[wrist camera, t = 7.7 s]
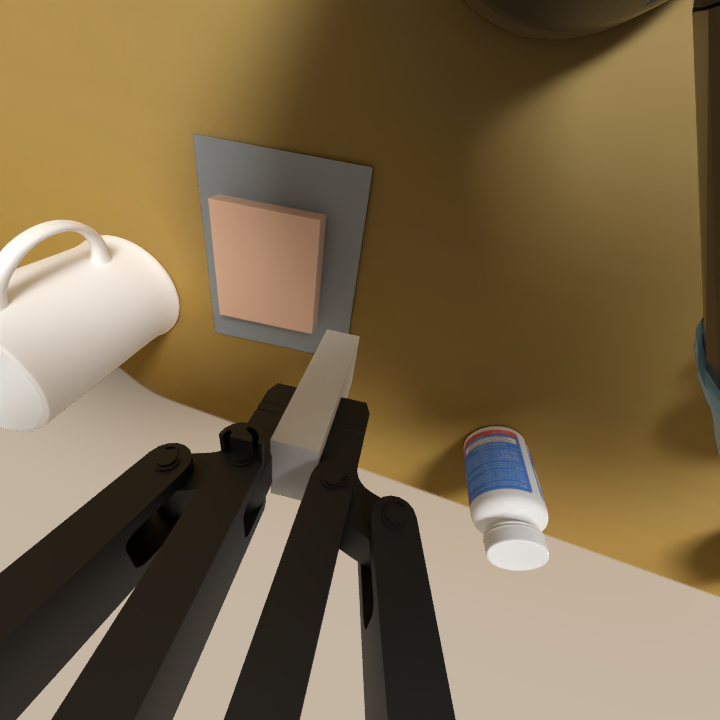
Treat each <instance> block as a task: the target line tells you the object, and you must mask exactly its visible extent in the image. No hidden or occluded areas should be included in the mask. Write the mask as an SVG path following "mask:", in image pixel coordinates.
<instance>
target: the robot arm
mask: <svg viewBox="0 0 720 720" xmlns="http://www.w3.org/2000/svg"><path fill="white" fill-rule="evenodd" d="M463 1H464V2H465V3H466V4H467V5H468V6H469V7H470V8H471V9H473V10H474V11H475V12H476V13H477V14H478V15H480V16H481V17H482V18H484V19H485V20H487V21H488V22H490V23H492V24H493V25H495V26H497V27H499V28H501V29H503V30H505V31H508V32H510V33H513V34H516V35H520V36H524V37H529V38H535V39H544V40H559V39H571V38H577V37H583V36H587V35H591V34H595V33H598V32H601V31H604V30H607V29H610V28H613V27H615V26H617V25H620V24H622V23H624V22H627V21H629V20H631V19H633V18H635V17H637V16H639V15H641V14H643V13H645V12H647V11H649V10H651V9H653V8H655V7H657V6H659V5H661V4H663V3H664V2H666V1H668V0H463ZM693 6H694V7H693V11H692V15H693V43H694V70H695V97H696V125H697V152H698V180H699V207H700V235H701V262H702V289H703V319H702V321H701V322H700V323H699V324H698V326H697V327H696V335H695V344H694V350H695V357H696V364H697V370H698V378H699V381H700V384H701V387H702V390H703V393H704V396H705V398H706V400H707V402H708V404H709V406H710V408H711V411H712V418H713V424H714V433H715V441H716V444H717V448H718V452H719V455H720V0H694V3H693ZM359 338H360V336H355V335H351V334H346V333H342V332H337V331H333V330H328V329H327V330H326V332H325V334H324V336H323V338H322V340H321V342H320V344H319V346H318V348H317V350H316V352H315V354H314V356H313V358H312V360H311V361H310V363H309V365H308V367H307V369H306V371H305V373H304V375H303V377H302V379H301V381H300V383H299V385H298V387H297V388H296V387H292V386H288V385H283V384H279V383H278V384H276V385H275V386H274V387H272V388H271V389H269V390H268V391H267V393H266V394H265V396H264V398H263V399H262V402H260V404H259V406H258V407H257V410H256V411H255V412H254V414H253V415H252V417H251V419H250V420H249V422H248V423H243V422H241V423H236V424H232V425H230V426H228V427H226V428H224V429H223V430H222V431H221V433H219V438H220V444H221V451H218V452H212V453H194V454H191V452H190V450H189V449H188V448H187V447H186V446H185V445H182V444H179V443H168V444H165V445H161V446H158V447H157V448H155V449H153V450H152V451H150V452H149V453H148V454H146V455H145V456H144V457H143V458H142V459H140V460H139V461H138V462H137V463H135V464H134V465H133V466H132V467H130V468H129V469H128V470H127V471H125V472H124V473H123V474H122V475H121V476H119V477H118V478H117V479H116V480H114V481H113V482H112V483H111V484H109V485H108V486H107V487H106V488H105V489H103V490H102V491H101V492H100V493H98V494H97V495H96V496H95V497H93V498H92V499H91V500H90V501H88V502H87V503H86V504H85V505H84V506H82V507H81V508H80V509H79V510H78V511H76V512H75V513H74V514H73V515H71V516H70V517H69V518H68V519H66V520H65V521H64V522H63V523H61V524H60V525H59V526H58V527H57V528H55V529H54V530H53V531H51V532H50V533H49V534H48V535H47V536H46V537H44V538H43V539H42V540H40V541H39V542H38V543H37V544H36V545H34V546H33V547H32V548H31V549H29V550H28V551H27V552H26V553H24V554H23V555H22V556H21V557H19V558H18V559H17V560H16V561H14V562H13V563H12V564H11V565H10V566H8V567H7V568H6V569H5V570H3V571H2V572H1V573H0V720H16V719H17V718H18V717H19V716H20V714H22V712H23V711H24V710H25V709H26V708H27V707H28V706H29V705H30V704H31V702H32V701H33V700H34V699H35V698H36V697H37V696H38V695H39V694H40V692H41V691H42V690H43V689H44V688H45V687H46V686H47V685H48V683H49V682H50V681H51V680H52V679H53V678H54V677H55V676H56V675H57V673H58V672H59V671H60V670H61V669H62V668H63V667H64V666H65V665H66V663H67V662H68V661H69V660H70V659H71V658H72V657H73V656H74V655H75V653H76V652H77V651H78V650H79V649H80V648H81V647H82V646H83V645H84V643H85V642H86V641H87V640H88V639H89V638H90V637H91V636H92V634H93V633H94V632H95V631H96V630H97V629H98V628H99V627H100V625H102V623H103V622H104V621H105V620H106V619H107V618H108V617H109V616H110V614H111V613H112V612H113V611H114V610H115V609H116V608H117V607H118V606H119V604H120V603H121V602H122V601H123V600H124V599H125V598H126V597H127V596H128V594H129V593H130V592H131V591H132V590H133V589H134V587H135V589H134V591H133V592H132V594H131V595H130V597H129V598H128V600H127V602H126V603H125V605H124V606H123V608H122V609H121V611H120V612H119V614H118V616H117V617H116V619H115V620H114V622H113V623H112V625H111V627H110V628H109V630H108V631H107V633H106V635H105V636H104V638H103V639H102V641H101V643H100V644H99V646H98V647H97V649H96V650H95V652H94V653H93V655H92V657H91V658H90V660H89V661H88V663H87V664H86V666H85V668H84V669H83V671H82V672H81V674H80V675H79V677H78V679H77V680H76V682H75V683H74V685H73V686H72V688H71V690H70V692H69V693H68V694H67V696H66V698H65V699H64V701H63V702H62V704H61V705H60V707H59V709H58V710H57V712H56V713H55V715H54V716H53V718H52V720H173V717H174V715H175V713H176V711H177V708H178V706H179V704H180V701H181V699H182V697H183V694H184V692H185V690H186V687H187V685H188V683H189V681H190V678H191V676H192V674H193V672H194V669H195V667H196V665H197V662H198V660H199V658H200V655H201V653H202V651H203V649H204V646H205V644H206V641H207V639H208V637H209V635H210V632H211V630H212V628H213V626H214V623H215V621H216V619H217V616H218V614H219V612H220V609H221V607H222V605H223V603H224V600H225V598H226V595H227V593H228V591H229V589H230V586H231V584H232V582H233V579H234V577H235V575H236V573H237V570H238V568H239V565H240V563H241V561H242V559H243V557H244V554H245V552H246V550H247V547H248V545H249V543H250V541H251V538H252V536H253V534H254V531H255V529H256V527H257V524H258V522H259V520H260V518H261V515H262V512H263V511H264V508H265V503H266V495H267V493H268V490H269V488H270V486H271V493H274V494H278V495H282V496H286V497H290V498H294V499H298V500H301V504H300V507H299V509H298V513H297V515H296V518H295V521H294V524H293V526H292V529H291V532H290V535H289V537H288V540H287V543H286V546H285V549H284V552H283V554H282V557H281V560H280V563H279V566H278V569H277V571H276V574H275V577H274V580H273V583H272V585H271V589H270V591H269V594H268V597H267V600H266V602H265V605H264V608H263V611H262V614H261V616H260V619H259V622H258V625H257V628H256V631H255V634H254V636H253V639H252V642H251V645H250V647H249V650H248V653H247V656H246V659H245V662H244V664H243V667H242V670H241V673H240V676H239V678H238V682H237V684H236V687H235V690H234V693H233V696H232V698H231V701H230V704H229V707H228V710H227V712H226V715H225V718H224V720H300V717H301V712H302V708H303V703H304V699H305V695H306V690H307V686H308V682H309V677H310V673H311V669H312V664H313V660H314V655H315V650H316V647H317V642H318V638H319V633H320V629H321V625H322V620H323V616H324V612H325V607H326V603H327V599H328V594H329V590H330V586H331V581H332V577H333V572H334V568H335V564H336V559H337V555H338V551H339V549H340V550H342V551H343V552H345V553H346V554H348V555H349V556H350V557H352V558H353V559H355V560H356V561H358V576H359V595H360V596H359V597H360V616H361V617H360V618H361V639H362V658H363V679H364V680H363V681H364V701H365V720H455V715H454V709H453V704H452V699H451V694H450V689H449V683H448V678H447V673H446V668H445V663H444V658H443V653H442V647H441V642H440V637H439V632H438V626H437V621H436V616H435V611H434V605H433V601H432V595H431V590H430V585H429V580H428V574H427V569H426V564H425V559H424V554H423V548H422V543H421V538H420V533H419V527H418V522H417V517H416V515H415V512H414V510H413V508H412V507H411V506H410V505H409V503H407V502H406V501H405V500H403V499H401V498H400V497H395V496H385V497H382V498H380V497H378V496H377V495H375V494H373V493H372V492H370V491H369V490H368V489H366V488H365V487H364V486H363V484H362V483H361V482H360V480H359V478H358V474H357V468H358V462H359V458H360V454H361V449H362V445H363V440H364V436H365V431H366V427H367V423H368V418H369V410H368V407H367V404H366V403H364V402H360V401H355V400H351V399H347V397H348V394H349V391H350V387H351V384H352V380H353V374H354V368H355V362H356V356H357V350H358V344H359Z"/></svg>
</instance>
